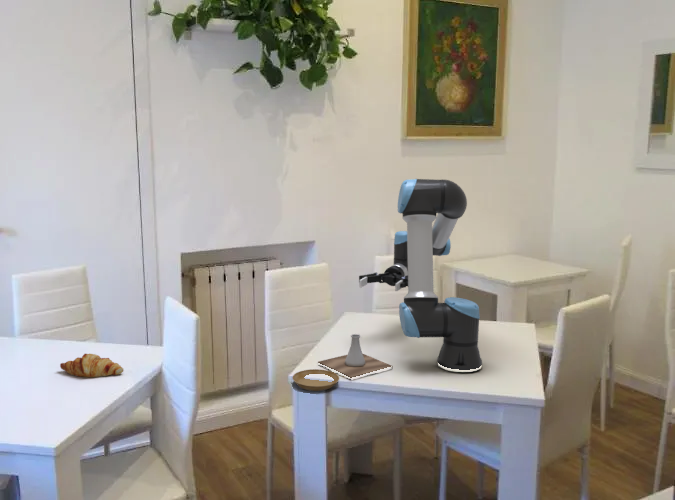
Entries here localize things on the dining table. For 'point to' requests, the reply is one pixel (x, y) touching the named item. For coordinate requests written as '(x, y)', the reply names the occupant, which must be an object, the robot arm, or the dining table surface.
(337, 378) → the plant saucer
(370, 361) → the walnut board
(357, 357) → the flask
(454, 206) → the robot arm
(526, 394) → the dining table surface
